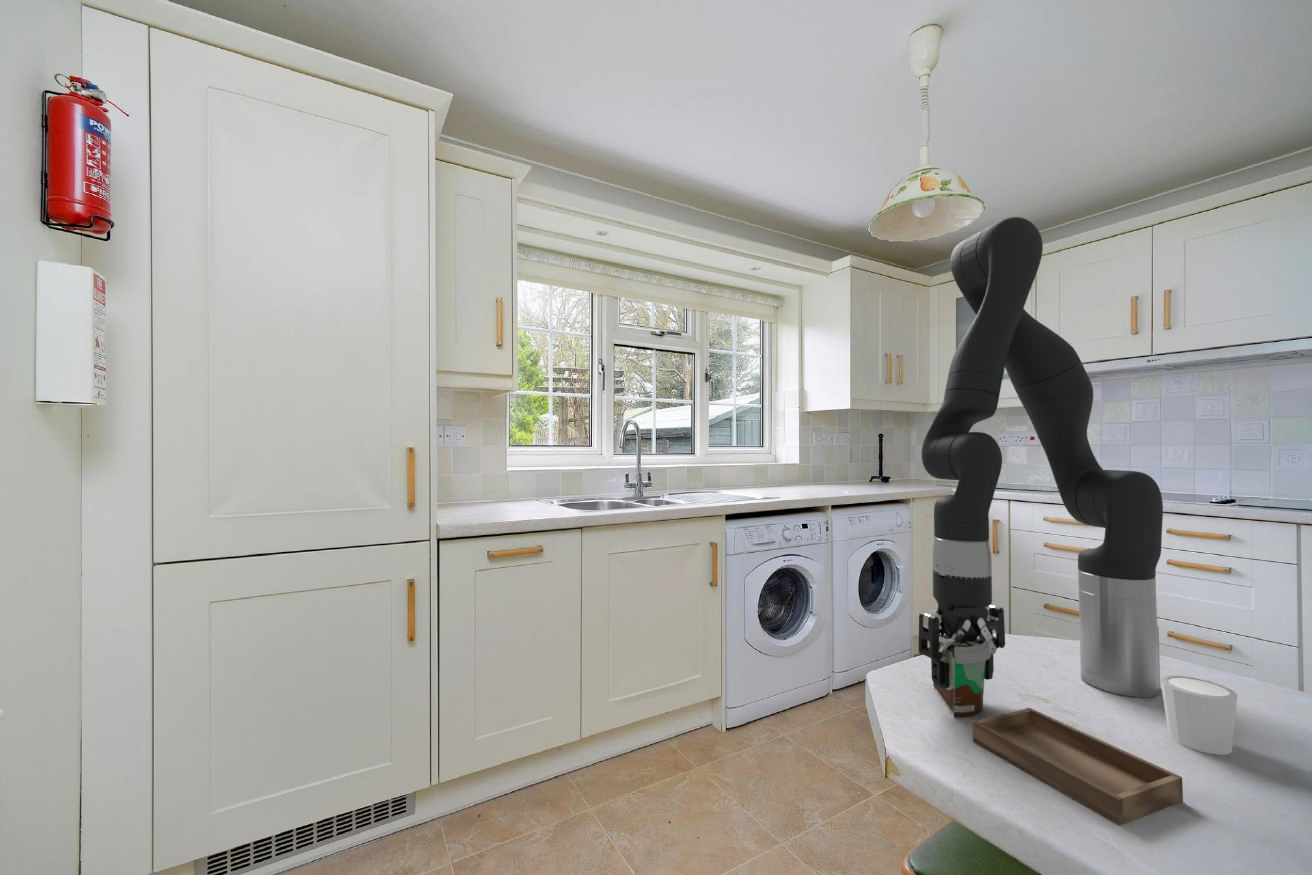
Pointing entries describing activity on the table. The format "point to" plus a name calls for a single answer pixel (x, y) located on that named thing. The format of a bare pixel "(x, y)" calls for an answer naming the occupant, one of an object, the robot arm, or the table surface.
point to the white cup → (1199, 713)
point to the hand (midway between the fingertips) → (963, 681)
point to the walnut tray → (1080, 765)
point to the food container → (965, 677)
